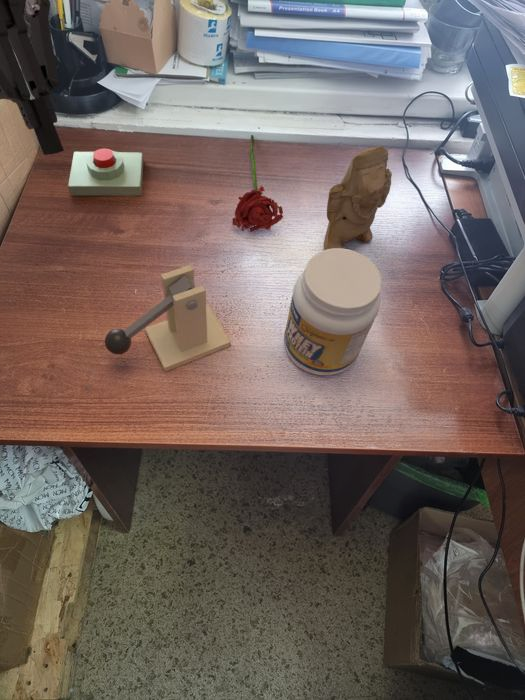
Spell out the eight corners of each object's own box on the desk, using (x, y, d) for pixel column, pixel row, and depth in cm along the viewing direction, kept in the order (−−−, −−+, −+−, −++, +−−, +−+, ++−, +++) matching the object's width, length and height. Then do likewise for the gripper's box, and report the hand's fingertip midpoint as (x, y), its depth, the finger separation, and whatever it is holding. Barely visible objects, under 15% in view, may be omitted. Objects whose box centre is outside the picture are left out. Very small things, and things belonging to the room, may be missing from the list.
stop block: (70, 195, 95) (65, 178, 91) (76, 161, 100) (71, 143, 97) (141, 195, 96) (138, 178, 93) (143, 161, 101) (141, 144, 98)
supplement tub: (267, 344, 80) (277, 273, 66) (316, 302, 85) (336, 229, 71) (325, 393, 76) (350, 330, 62) (373, 346, 81) (406, 278, 67)
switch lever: (120, 362, 72) (104, 355, 69) (112, 343, 74) (96, 335, 71) (203, 299, 70) (190, 289, 67) (193, 280, 72) (179, 270, 68)
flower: (240, 167, 113) (245, 249, 94) (220, 129, 107) (220, 209, 87) (278, 149, 111) (291, 230, 91) (260, 109, 104) (269, 187, 84)
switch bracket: (164, 372, 76) (155, 318, 64) (145, 332, 80) (133, 274, 68) (230, 345, 79) (233, 290, 68) (209, 308, 83) (208, 250, 71)
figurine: (327, 268, 90) (352, 175, 73) (306, 241, 93) (326, 146, 76) (384, 247, 94) (421, 154, 77) (362, 221, 97) (393, 127, 80)
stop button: (94, 168, 94) (92, 160, 92) (95, 156, 96) (94, 148, 94) (114, 168, 94) (112, 160, 93) (115, 156, 96) (113, 148, 95)
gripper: (-86, -85, 49) (22, 166, 61) (35, -84, 57) (109, 138, 68) (-109, -60, 53) (-5, 168, 65) (5, -63, 61) (80, 141, 73)
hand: (53, 152), depth 67 cm, fingers closed
